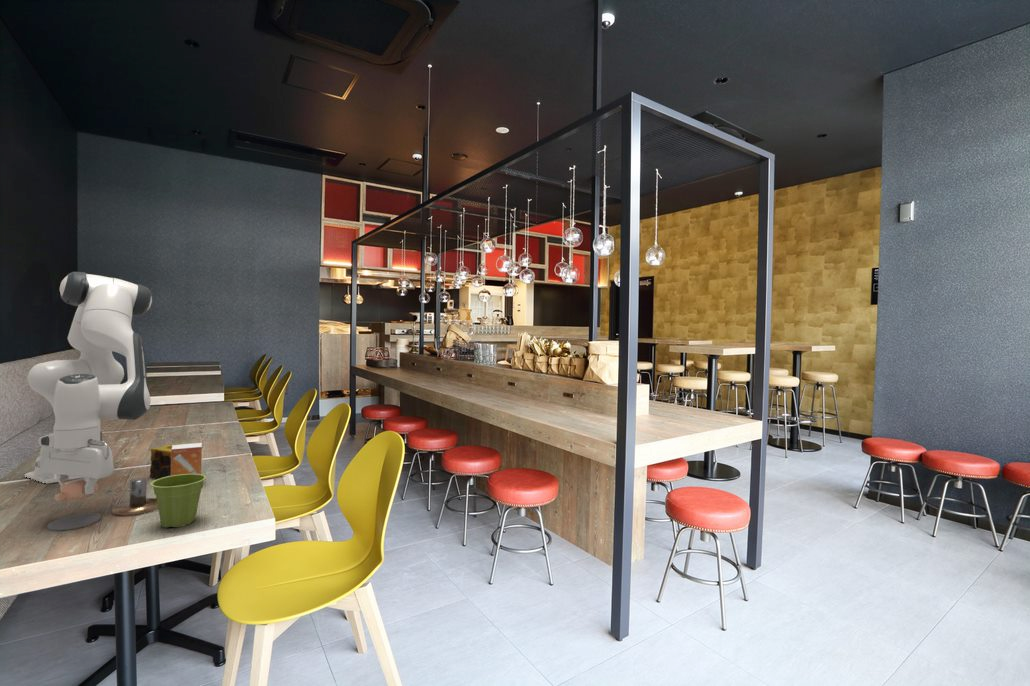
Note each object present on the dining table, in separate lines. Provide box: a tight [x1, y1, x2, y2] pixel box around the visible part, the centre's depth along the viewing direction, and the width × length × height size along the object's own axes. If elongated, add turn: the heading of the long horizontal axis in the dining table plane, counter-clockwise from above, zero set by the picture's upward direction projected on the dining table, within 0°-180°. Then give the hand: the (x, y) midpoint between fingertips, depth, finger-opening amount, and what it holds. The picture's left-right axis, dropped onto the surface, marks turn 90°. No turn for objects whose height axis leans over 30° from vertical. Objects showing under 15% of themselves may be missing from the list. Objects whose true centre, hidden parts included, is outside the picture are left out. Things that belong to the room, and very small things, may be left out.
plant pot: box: [150, 473, 207, 528], centre depth 123 cm, size 12×12×11 cm
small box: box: [171, 442, 203, 476], centre depth 151 cm, size 8×6×13 cm
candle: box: [149, 442, 184, 480], centre depth 161 cm, size 10×10×10 cm
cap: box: [54, 478, 100, 502], centre depth 121 cm, size 9×6×4 cm, turn 166°
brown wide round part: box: [111, 477, 158, 517], centre depth 132 cm, size 11×11×8 cm
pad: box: [47, 512, 102, 532], centre depth 121 cm, size 10×10×1 cm
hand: (77, 492), depth 121 cm, fingers closed on cap, 6 cm apart
